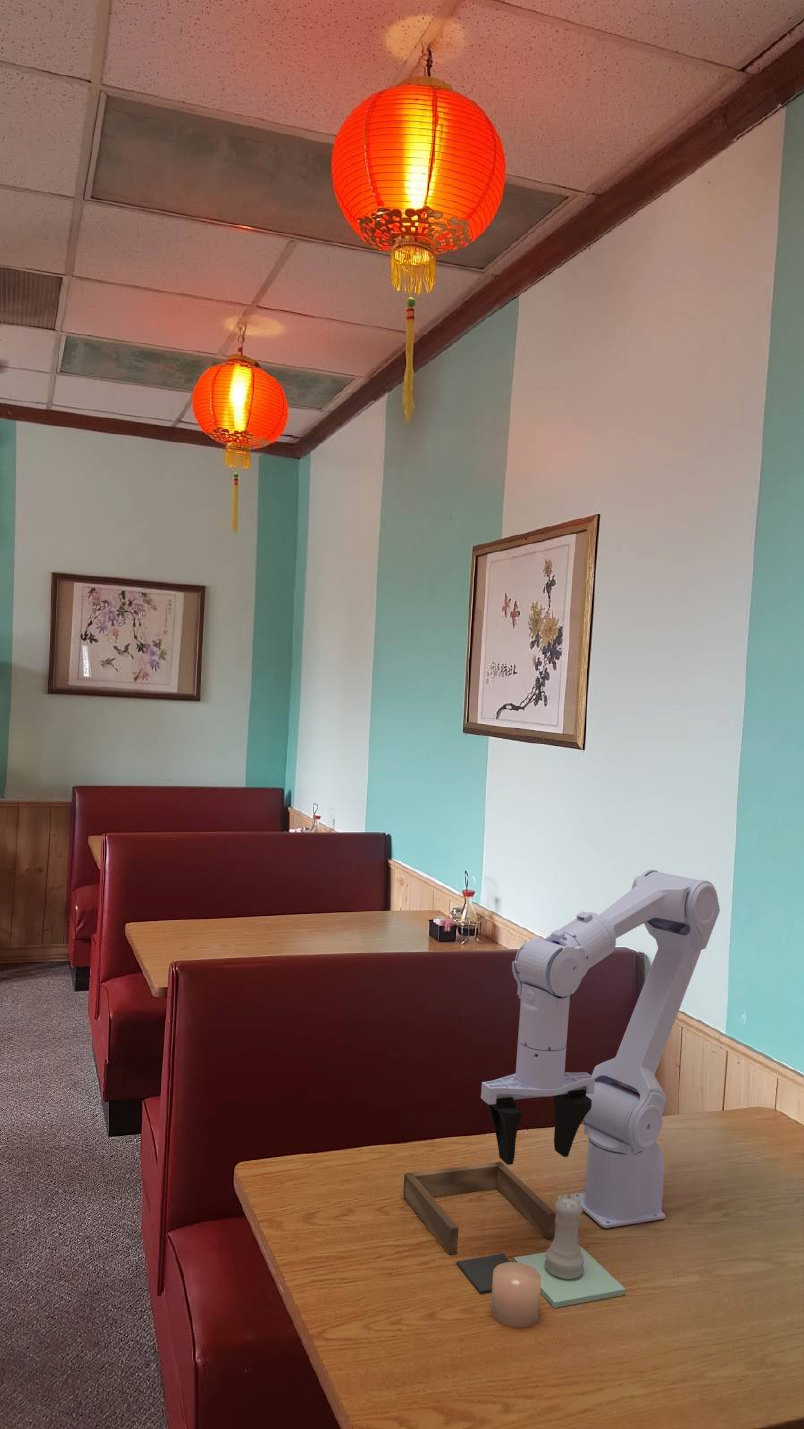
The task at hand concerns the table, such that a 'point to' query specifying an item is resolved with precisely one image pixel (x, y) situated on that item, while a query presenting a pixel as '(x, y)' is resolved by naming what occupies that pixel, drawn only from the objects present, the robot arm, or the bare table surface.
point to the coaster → (574, 1282)
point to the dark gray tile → (481, 1270)
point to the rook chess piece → (566, 1241)
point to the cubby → (471, 1179)
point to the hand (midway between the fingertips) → (534, 1157)
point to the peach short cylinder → (515, 1294)
